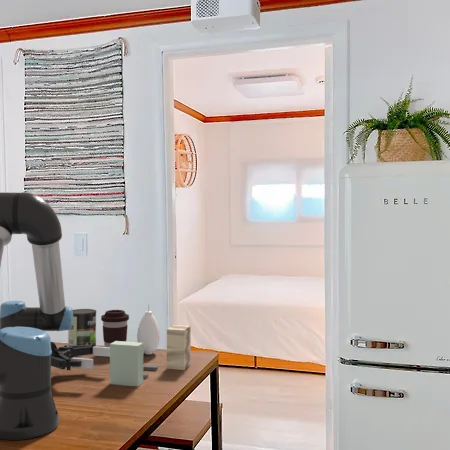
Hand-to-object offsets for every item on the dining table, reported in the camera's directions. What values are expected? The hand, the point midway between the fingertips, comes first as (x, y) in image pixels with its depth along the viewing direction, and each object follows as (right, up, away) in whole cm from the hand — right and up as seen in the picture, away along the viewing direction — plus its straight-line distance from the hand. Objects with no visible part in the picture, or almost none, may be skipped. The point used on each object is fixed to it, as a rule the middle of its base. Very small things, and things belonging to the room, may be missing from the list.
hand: (103, 357), depth 164 cm
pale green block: (+7, -7, -2) cm, 11 cm away
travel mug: (-3, -6, +33) cm, 34 cm away
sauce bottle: (+9, -6, +31) cm, 33 cm away
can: (-16, -6, +38) cm, 42 cm away
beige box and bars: (+15, -7, +11) cm, 20 cm away
